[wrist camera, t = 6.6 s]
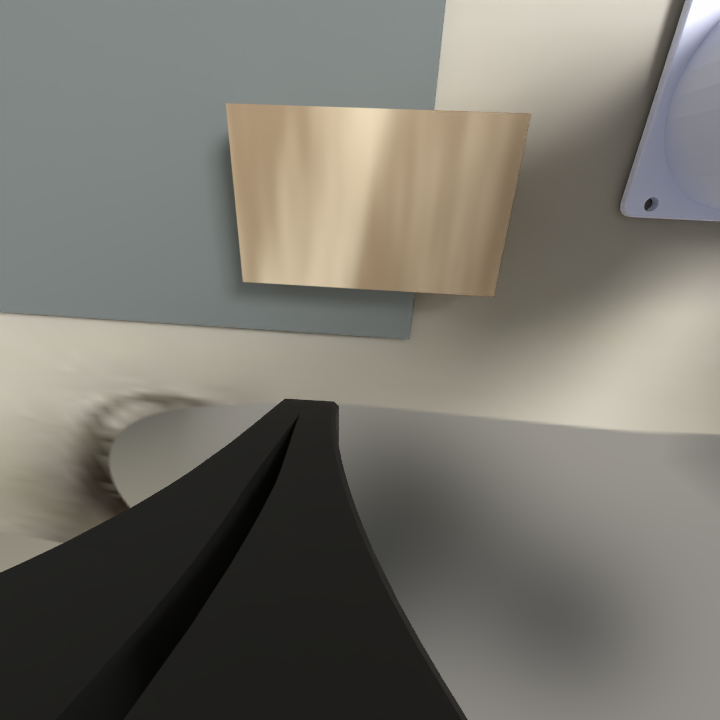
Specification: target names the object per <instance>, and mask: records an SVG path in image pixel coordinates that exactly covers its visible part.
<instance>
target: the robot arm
mask: <svg viewBox="0 0 720 720" xmlns="http://www.w3.org/2000/svg"><path fill="white" fill-rule="evenodd" d="M650 198H651V199H652V205H651V207H650V208H649V209H648V210H645V209H644V204H645V203H646V201H647V200H648V199H650ZM620 210H621V213H622V214H623V215H624V216H628V217H638V218H659V219H680V220H701V221H720V0H685V3H684V6H683V9H682V13H681V16H680V19H679V22H678V25H677V28H676V31H675V34H674V38H673V41H672V44H671V47H670V50H669V53H668V56H667V60H666V63H665V66H664V69H663V72H662V75H661V78H660V81H659V85H658V88H657V91H656V94H655V97H654V100H653V103H652V107H651V110H650V113H649V116H648V119H647V122H646V125H645V128H644V132H643V135H642V138H641V141H640V144H639V147H638V150H637V154H636V157H635V160H634V163H633V166H632V169H631V172H630V175H629V179H628V182H627V185H626V188H625V191H624V194H623V197H622V200H621V204H620ZM0 720H467V718H466V716H465V715H464V713H463V711H462V710H461V708H460V706H459V705H458V703H457V702H456V700H455V698H454V697H453V696H452V693H451V692H450V690H449V689H448V687H447V685H446V684H445V682H444V681H443V679H442V678H441V676H440V674H439V672H438V671H437V669H436V667H435V666H434V664H433V662H432V660H431V659H430V657H429V655H428V654H427V652H426V650H425V648H424V647H423V645H422V643H421V642H420V640H419V638H418V636H417V634H416V633H415V631H414V629H413V627H412V625H411V624H410V622H409V620H408V618H407V616H406V615H405V613H404V611H403V609H402V608H401V606H400V604H399V602H398V600H397V598H396V596H395V594H394V592H393V590H392V588H391V586H390V584H389V582H388V579H387V578H386V575H385V573H384V572H383V569H382V567H381V565H380V563H379V561H378V559H377V557H376V555H375V553H374V551H373V549H372V547H371V544H370V542H369V539H368V537H367V535H366V532H365V530H364V528H363V525H362V523H361V520H360V517H359V515H358V512H357V510H356V507H355V504H354V501H353V499H352V495H351V492H350V489H349V486H348V482H347V479H346V475H345V472H344V468H343V464H342V460H341V455H340V450H339V406H338V405H337V404H336V403H335V402H330V401H314V400H298V399H284V400H283V401H282V402H280V403H279V404H278V405H277V406H275V407H274V408H273V409H272V410H271V411H269V412H268V413H267V414H266V415H265V416H263V417H262V418H261V419H260V420H258V421H257V422H256V423H255V424H254V425H252V426H251V427H250V428H249V429H247V430H246V431H245V432H243V434H241V435H240V436H239V437H237V438H236V439H235V440H233V441H232V442H231V443H229V444H228V445H227V446H225V447H224V448H223V449H221V450H220V451H219V452H217V453H216V454H214V455H213V456H211V457H210V458H209V459H207V460H206V461H204V462H203V463H202V464H201V465H199V466H197V467H196V468H195V469H193V470H192V471H190V472H189V473H188V474H186V475H184V476H183V477H181V478H180V479H178V480H177V481H175V482H173V483H172V484H170V485H169V486H167V487H165V488H164V489H162V490H160V491H159V492H157V493H155V494H154V495H152V496H151V497H149V498H147V499H145V500H144V501H142V502H140V503H139V504H137V505H135V506H133V507H132V508H130V509H128V510H126V511H124V512H122V513H120V514H119V515H117V516H115V517H113V518H111V519H109V520H107V521H105V522H103V523H101V524H100V525H98V526H96V527H94V528H92V529H90V530H88V531H86V532H84V533H82V534H81V535H79V536H77V537H75V538H73V539H71V540H69V541H67V542H65V543H63V544H61V545H59V546H57V547H55V548H53V549H51V550H48V551H46V552H44V553H43V554H40V555H38V556H36V557H34V558H32V559H30V560H27V561H25V562H23V563H21V564H19V565H16V566H14V567H12V568H10V569H8V570H5V571H3V572H1V573H0Z"/></svg>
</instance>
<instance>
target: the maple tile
mask: <svg viewBox="0 0 720 720" xmlns="http://www.w3.org/2000/svg"><path fill="white" fill-rule="evenodd" d="M226 112H227V122H228V133H229V143H230V153H231V164H232V174H233V184H234V194H235V205H236V215H237V225H238V236H239V246H240V256H241V267H242V277H243V282H253V283H270V284H287V285H303V286H320V287H337V288H354V289H370V290H387V291H404V292H421V293H437V294H454V295H471V296H488V297H494V294H495V289H496V284H497V279H498V274H499V269H500V264H501V260H502V255H503V250H504V245H505V240H506V235H507V230H508V225H509V220H510V215H511V210H512V205H513V200H514V195H515V191H516V186H517V181H518V176H519V171H520V166H521V161H522V156H523V151H524V146H525V141H526V136H527V131H528V126H529V122H530V117H531V114H527V113H497V112H468V111H438V110H409V109H380V108H350V107H321V106H291V105H262V104H233V103H226Z"/></svg>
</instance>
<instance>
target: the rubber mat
mask: <svg viewBox="0 0 720 720" xmlns="http://www.w3.org/2000/svg"><path fill="white" fill-rule="evenodd" d="M445 3H446V0H0V312H5V313H21V314H36V315H51V316H66V317H81V318H96V319H111V320H126V321H141V322H156V323H171V324H186V325H201V326H216V327H231V328H247V329H262V330H277V331H292V332H307V333H322V334H337V335H352V336H367V337H382V338H397V339H410V331H411V321H412V312H413V302H414V293H415V292H404V291H387V290H370V289H354V288H337V287H320V286H303V285H287V284H270V283H253V282H243V277H242V267H241V256H240V246H239V236H238V225H237V215H236V205H235V194H234V184H233V174H232V164H231V153H230V143H229V133H228V122H227V112H226V103H233V104H262V105H291V106H321V107H350V108H380V109H409V110H434V106H435V97H436V87H437V78H438V69H439V59H440V50H441V41H442V31H443V22H444V12H445Z"/></svg>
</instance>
